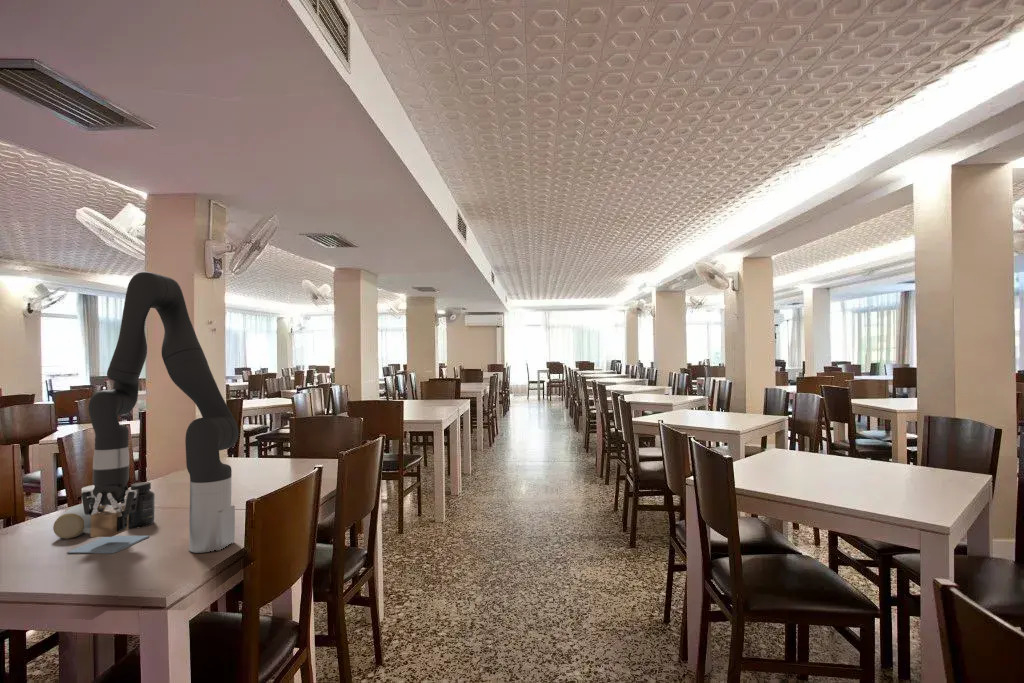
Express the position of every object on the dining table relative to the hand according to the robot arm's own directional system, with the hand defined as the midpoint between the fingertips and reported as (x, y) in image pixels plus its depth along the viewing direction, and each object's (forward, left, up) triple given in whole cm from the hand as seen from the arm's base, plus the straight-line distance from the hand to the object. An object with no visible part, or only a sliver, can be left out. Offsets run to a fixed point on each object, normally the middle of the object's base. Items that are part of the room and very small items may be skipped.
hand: (109, 530), depth 133 cm
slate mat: (0, 0, -4) cm, 4 cm away
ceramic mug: (+15, -9, -4) cm, 18 cm away
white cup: (+23, -23, -4) cm, 33 cm away
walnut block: (0, 0, -1) cm, 1 cm away
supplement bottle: (+5, -17, -4) cm, 18 cm away
